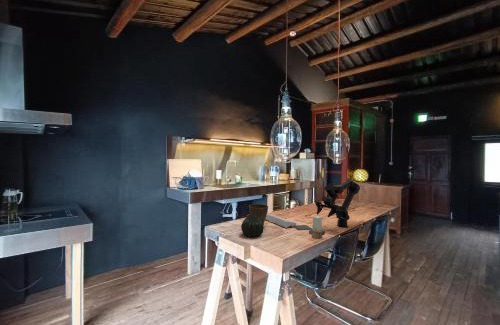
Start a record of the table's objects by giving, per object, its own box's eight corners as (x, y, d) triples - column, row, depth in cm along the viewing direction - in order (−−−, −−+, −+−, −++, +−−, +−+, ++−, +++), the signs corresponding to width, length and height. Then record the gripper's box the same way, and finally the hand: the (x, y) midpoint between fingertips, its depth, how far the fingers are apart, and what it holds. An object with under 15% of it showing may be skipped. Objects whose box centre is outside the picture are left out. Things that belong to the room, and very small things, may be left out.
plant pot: (267, 224, 197) (268, 204, 197) (267, 230, 182) (268, 208, 182) (249, 223, 199) (249, 203, 198) (247, 228, 184) (247, 207, 184)
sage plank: (316, 232, 180) (317, 215, 180) (321, 233, 177) (321, 217, 176) (312, 233, 177) (312, 216, 176) (317, 235, 174) (317, 218, 173)
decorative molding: (270, 219, 221) (260, 218, 216) (271, 214, 222) (262, 212, 217) (295, 229, 192) (285, 227, 187) (296, 223, 192) (286, 221, 187)
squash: (266, 231, 161) (262, 210, 170) (243, 233, 158) (241, 212, 167) (262, 240, 171) (259, 220, 181) (241, 242, 168) (238, 221, 178)
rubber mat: (306, 225, 196) (306, 224, 196) (312, 229, 186) (312, 228, 186) (293, 226, 194) (293, 225, 194) (298, 230, 184) (298, 229, 184)
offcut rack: (316, 231, 182) (316, 228, 182) (325, 233, 176) (325, 231, 176) (308, 233, 177) (308, 230, 177) (317, 236, 171) (317, 233, 171)
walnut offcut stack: (316, 236, 172) (316, 229, 172) (322, 238, 168) (322, 231, 168) (311, 237, 168) (311, 230, 168) (317, 239, 164) (318, 232, 164)
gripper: (316, 190, 190) (307, 206, 184) (338, 194, 176) (329, 211, 169) (322, 200, 196) (313, 215, 189) (344, 204, 181) (335, 221, 174)
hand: (322, 215), depth 180 cm, fingers open, 9 cm apart
